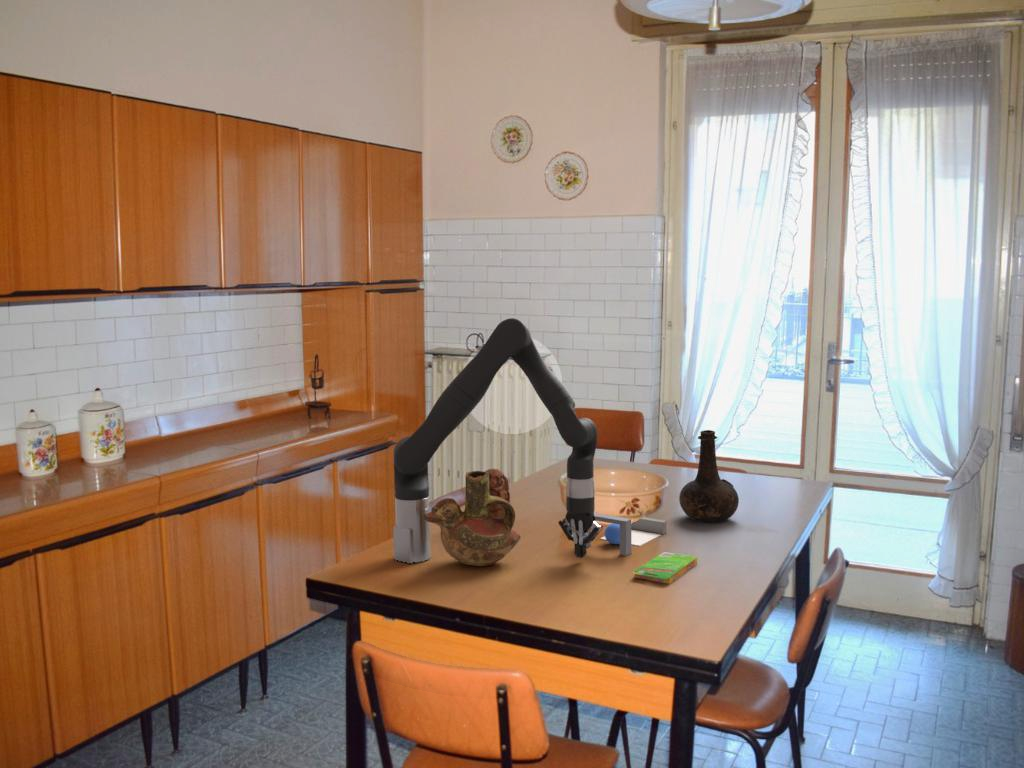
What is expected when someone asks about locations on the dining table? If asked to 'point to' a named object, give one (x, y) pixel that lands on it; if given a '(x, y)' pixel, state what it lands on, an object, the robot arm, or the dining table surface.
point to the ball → (613, 533)
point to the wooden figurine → (498, 491)
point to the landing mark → (640, 537)
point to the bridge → (624, 531)
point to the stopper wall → (650, 525)
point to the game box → (665, 567)
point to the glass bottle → (708, 488)
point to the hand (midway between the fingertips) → (580, 556)
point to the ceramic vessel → (475, 524)
